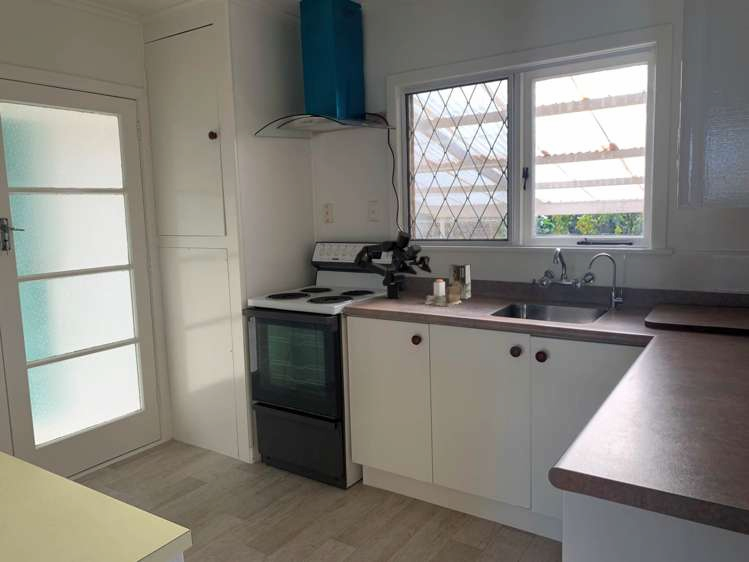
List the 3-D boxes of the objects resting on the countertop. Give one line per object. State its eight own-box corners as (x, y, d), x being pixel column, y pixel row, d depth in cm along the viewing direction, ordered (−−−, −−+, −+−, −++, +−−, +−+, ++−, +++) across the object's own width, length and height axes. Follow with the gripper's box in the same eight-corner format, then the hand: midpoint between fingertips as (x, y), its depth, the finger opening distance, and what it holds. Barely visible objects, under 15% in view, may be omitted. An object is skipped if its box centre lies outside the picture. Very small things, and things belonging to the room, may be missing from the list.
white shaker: (432, 300, 270) (432, 280, 268) (438, 298, 274) (438, 278, 272) (440, 301, 267) (440, 280, 266) (446, 299, 271) (446, 279, 269)
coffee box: (471, 297, 285) (471, 264, 282) (466, 299, 279) (465, 265, 277) (454, 295, 289) (454, 263, 287) (448, 297, 284) (448, 264, 282)
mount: (425, 304, 269) (424, 286, 268) (438, 300, 277) (438, 283, 276) (447, 306, 261) (447, 288, 260) (461, 303, 269) (461, 285, 268)
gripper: (393, 242, 269) (414, 259, 260) (422, 240, 281) (443, 256, 271) (386, 263, 275) (406, 280, 265) (415, 260, 286) (436, 276, 276)
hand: (423, 272), depth 269 cm, fingers open, 9 cm apart
